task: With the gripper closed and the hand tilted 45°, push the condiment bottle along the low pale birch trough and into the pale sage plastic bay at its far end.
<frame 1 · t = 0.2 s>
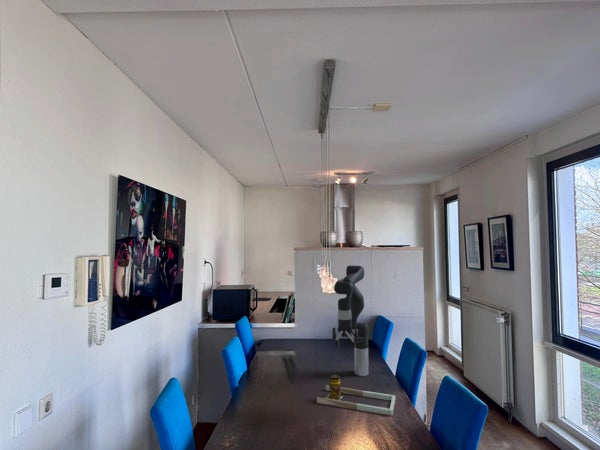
hand: (345, 347, 186), 29 cm above the table, tool pointing down, fingers open, 8 cm apart
condiment: (333, 398, 190), on the table
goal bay: (375, 404, 182), on the table
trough: (340, 398, 188), on the table
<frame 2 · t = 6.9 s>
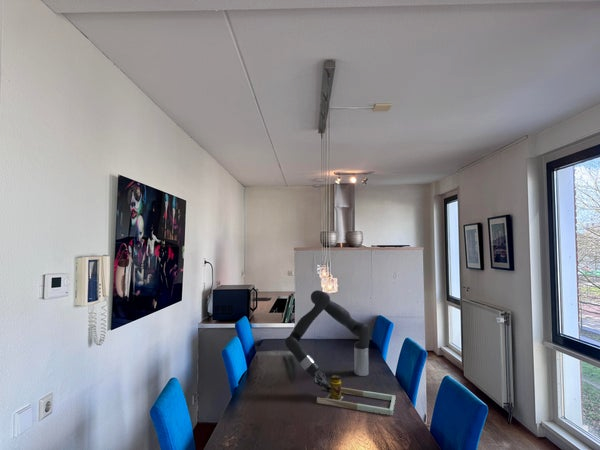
hand: (329, 390, 191), 4 cm above the table, tool tilted 45°, fingers closed
condiment: (334, 398, 189), on the table, touching gripper
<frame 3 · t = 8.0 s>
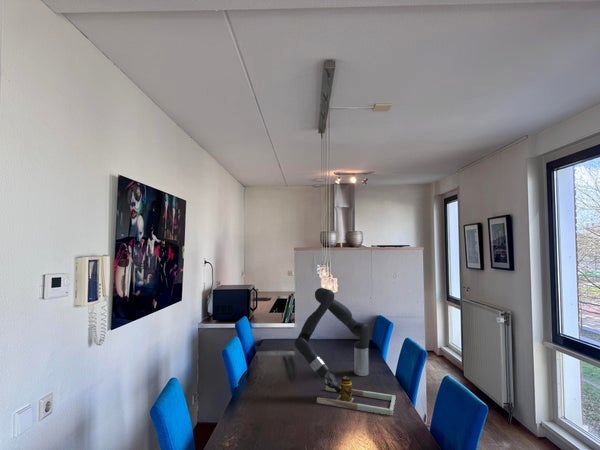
hand: (340, 391, 189), 4 cm above the table, tool tilted 45°, fingers closed
condiment: (344, 399, 187), on the table, touching gripper
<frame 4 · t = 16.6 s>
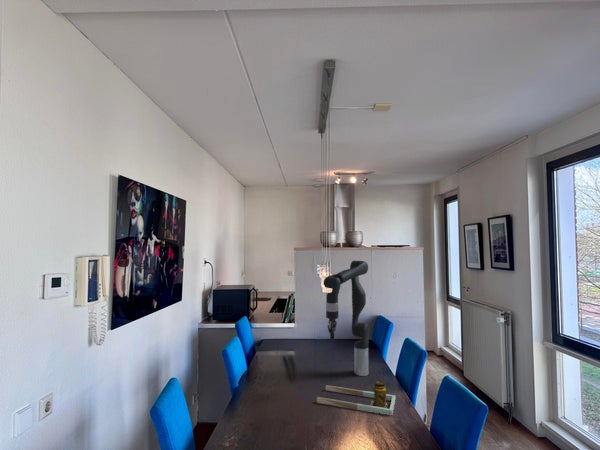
hand: (332, 339, 204), 29 cm above the table, tool pointing down, fingers closed
condiment: (378, 405, 181), on the table
at the end: condiment inside the target area (0.3 cm from its centre), on the table; condiment tilted 0° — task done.
